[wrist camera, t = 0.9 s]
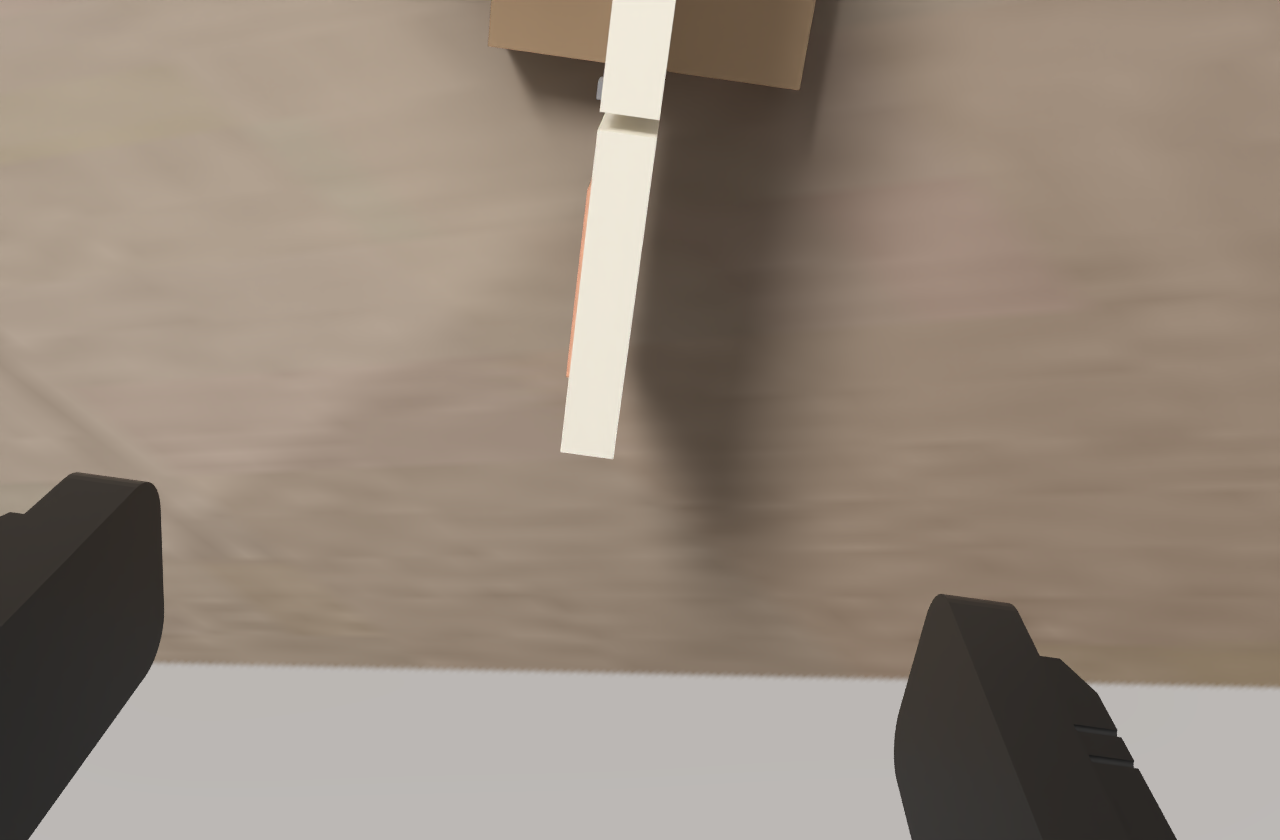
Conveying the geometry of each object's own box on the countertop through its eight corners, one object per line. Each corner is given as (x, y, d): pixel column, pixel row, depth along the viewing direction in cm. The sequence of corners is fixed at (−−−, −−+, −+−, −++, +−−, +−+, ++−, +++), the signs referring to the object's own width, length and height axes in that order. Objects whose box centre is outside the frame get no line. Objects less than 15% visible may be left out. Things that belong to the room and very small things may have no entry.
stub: (615, 78, 25) (591, 128, 19) (664, 85, 25) (656, 138, 19) (585, 330, 28) (554, 451, 21) (630, 336, 28) (613, 459, 21)
